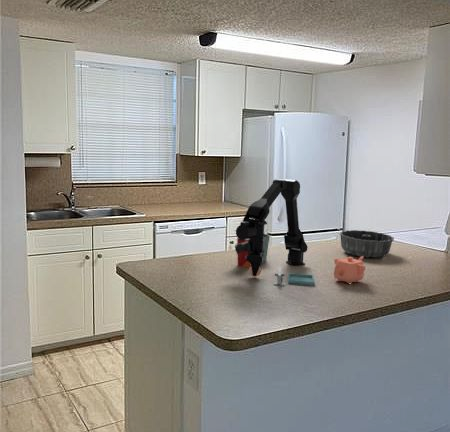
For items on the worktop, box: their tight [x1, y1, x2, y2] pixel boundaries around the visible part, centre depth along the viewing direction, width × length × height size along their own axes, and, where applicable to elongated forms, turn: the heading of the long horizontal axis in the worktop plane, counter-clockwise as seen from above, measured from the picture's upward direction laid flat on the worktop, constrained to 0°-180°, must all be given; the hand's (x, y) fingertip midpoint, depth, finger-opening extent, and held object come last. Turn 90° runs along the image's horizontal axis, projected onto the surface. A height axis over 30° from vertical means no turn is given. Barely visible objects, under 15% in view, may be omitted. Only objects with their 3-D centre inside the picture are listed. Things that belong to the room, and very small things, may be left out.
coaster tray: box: [287, 272, 316, 286], centre depth 192 cm, size 10×10×2 cm
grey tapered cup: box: [261, 233, 271, 263], centre depth 222 cm, size 10×10×12 cm
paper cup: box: [236, 236, 251, 268], centre depth 211 cm, size 8×8×14 cm
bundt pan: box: [339, 229, 395, 258], centre depth 242 cm, size 26×26×10 cm
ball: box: [248, 265, 262, 277], centre depth 193 cm, size 5×5×5 cm
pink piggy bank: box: [333, 256, 366, 284], centre depth 193 cm, size 14×12×10 cm
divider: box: [273, 264, 286, 287], centre depth 192 cm, size 16×4×4 cm, turn 172°
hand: (254, 273), depth 194 cm, fingers closed on ball, 5 cm apart
